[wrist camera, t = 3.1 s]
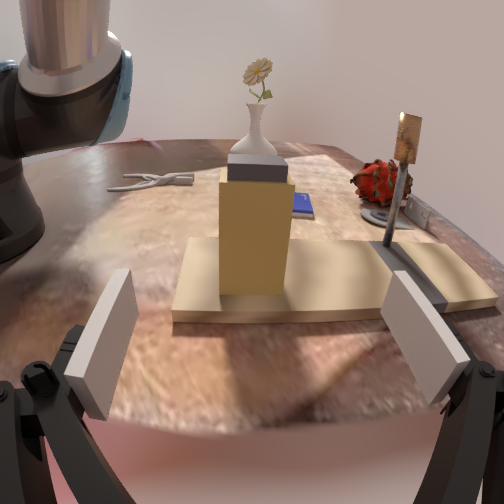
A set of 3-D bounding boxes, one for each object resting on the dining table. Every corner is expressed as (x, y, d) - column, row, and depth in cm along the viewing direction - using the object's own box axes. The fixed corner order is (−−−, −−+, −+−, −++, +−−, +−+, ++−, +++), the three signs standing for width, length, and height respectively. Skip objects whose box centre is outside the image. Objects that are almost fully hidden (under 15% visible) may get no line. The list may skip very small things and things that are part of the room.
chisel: (381, 250, 33) (407, 114, 25) (373, 240, 35) (395, 111, 27) (399, 250, 33) (426, 118, 25) (390, 240, 35) (414, 115, 28)
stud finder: (219, 294, 24) (219, 164, 19) (220, 267, 28) (221, 152, 23) (282, 295, 25) (297, 167, 20) (276, 268, 28) (286, 155, 23)
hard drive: (308, 192, 49) (231, 186, 50) (313, 210, 42) (223, 203, 43) (307, 201, 50) (231, 195, 51) (312, 221, 43) (223, 214, 43)
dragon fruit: (411, 216, 51) (349, 219, 52) (399, 179, 55) (341, 180, 56) (427, 189, 43) (358, 190, 44) (411, 149, 47) (347, 149, 48)
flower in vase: (224, 154, 77) (228, 59, 65) (266, 153, 81) (272, 62, 68) (239, 166, 66) (245, 53, 54) (287, 165, 70) (295, 59, 58)
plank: (172, 321, 23) (171, 309, 22) (189, 247, 33) (189, 237, 33) (494, 306, 25) (498, 297, 25) (442, 251, 36) (445, 243, 35)
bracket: (353, 212, 47) (356, 191, 45) (405, 215, 48) (409, 196, 46) (370, 230, 41) (375, 206, 39) (425, 232, 42) (431, 211, 41)
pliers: (123, 170, 58) (196, 168, 59) (124, 177, 58) (196, 176, 60) (106, 184, 49) (190, 182, 50) (107, 193, 50) (190, 191, 51)
